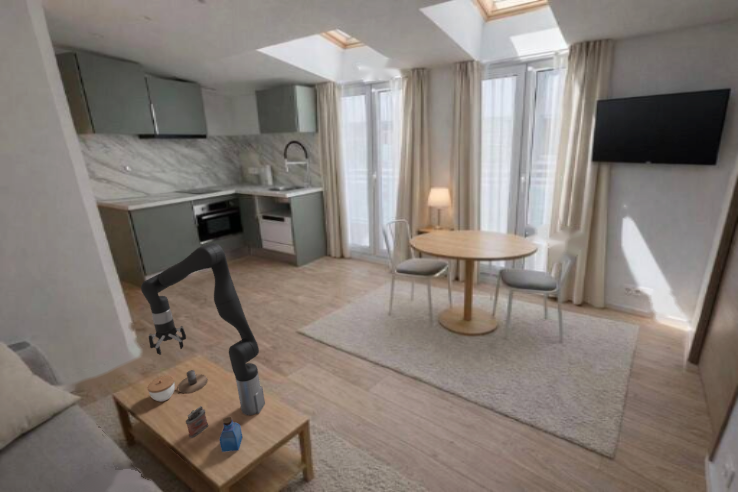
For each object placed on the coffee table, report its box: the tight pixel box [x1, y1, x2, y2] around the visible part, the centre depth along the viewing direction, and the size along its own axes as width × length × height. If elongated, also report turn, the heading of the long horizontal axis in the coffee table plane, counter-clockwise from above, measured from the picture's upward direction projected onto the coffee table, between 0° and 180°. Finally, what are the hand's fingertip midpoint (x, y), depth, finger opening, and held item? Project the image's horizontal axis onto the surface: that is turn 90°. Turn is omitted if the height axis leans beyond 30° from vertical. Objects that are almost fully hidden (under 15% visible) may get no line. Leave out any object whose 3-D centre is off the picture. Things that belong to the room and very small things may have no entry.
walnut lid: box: [177, 369, 209, 394], centre depth 175 cm, size 13×13×7 cm
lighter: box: [185, 405, 209, 439], centre depth 146 cm, size 8×3×10 cm, turn 148°
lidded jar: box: [146, 375, 176, 402], centre depth 166 cm, size 11×11×9 cm
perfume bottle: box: [218, 416, 243, 453], centre depth 139 cm, size 6×6×12 cm
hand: (170, 351), depth 164 cm, fingers open, 8 cm apart
